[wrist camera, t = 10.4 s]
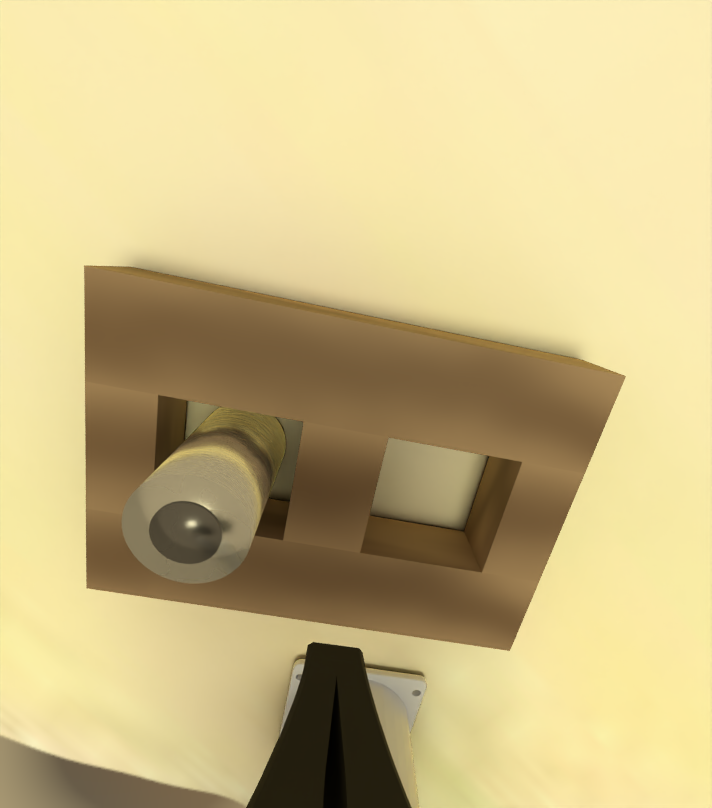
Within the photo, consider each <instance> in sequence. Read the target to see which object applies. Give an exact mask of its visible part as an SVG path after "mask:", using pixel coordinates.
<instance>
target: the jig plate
mask: <svg viewBox="0 0 712 808" xmlns="http://www.w3.org/2000/svg"><path fill="white" fill-rule="evenodd" d="M84 279H85V426H86V572H87V588H89V589H96V590H103V591H109V592H116V593H123V594H130V595H136V596H143V597H150V598H157V599H163V600H170V601H177V602H184V603H190V604H197V605H204V606H211V607H217V608H224V609H231V610H238V611H245V612H251V613H258V614H265V615H272V616H278V617H285V618H292V619H299V620H305V621H312V622H319V623H326V624H332V625H339V626H346V627H353V628H359V629H366V630H373V631H380V632H387V633H393V634H400V635H407V636H414V637H420V638H427V639H434V640H441V641H447V642H454V643H461V644H468V645H474V646H481V647H488V648H495V649H501V650H508V651H510V649H511V647H512V644H513V642H514V639H515V637H516V635H517V632H518V630H519V628H520V625H521V623H522V621H523V618H524V616H525V613H526V611H527V609H528V606H529V604H530V602H531V599H532V597H533V595H534V592H535V590H536V587H537V585H538V583H539V580H540V578H541V576H542V573H543V571H544V569H545V566H546V564H547V561H548V559H549V557H550V554H551V552H552V550H553V547H554V545H555V542H556V540H557V538H558V535H559V533H560V531H561V528H562V526H563V524H564V521H565V519H566V516H567V514H568V512H569V509H570V507H571V505H572V502H573V500H574V498H575V495H576V493H577V490H578V488H579V486H580V483H581V481H582V479H583V476H584V474H585V472H586V469H587V467H588V464H589V462H590V460H591V457H592V455H593V453H594V450H595V448H596V446H597V443H598V441H599V438H600V436H601V434H602V431H603V429H604V427H605V424H606V422H607V420H608V417H609V415H610V412H611V410H612V408H613V405H614V403H615V401H616V398H617V396H618V394H619V391H620V389H621V386H622V384H623V382H624V379H625V377H626V376H624V375H621V374H618V373H616V372H613V371H610V370H608V369H605V368H602V367H600V366H597V365H594V364H592V363H589V362H586V361H584V360H580V359H575V358H570V357H565V356H561V355H556V354H551V353H546V352H541V351H536V350H531V349H527V348H522V347H517V346H512V345H507V344H502V343H497V342H493V341H488V340H483V339H478V338H473V337H468V336H463V335H459V334H454V333H449V332H444V331H439V330H434V329H429V328H425V327H420V326H415V325H410V324H405V323H400V322H395V321H391V320H386V319H381V318H376V317H371V316H366V315H361V314H357V313H352V312H347V311H342V310H337V309H332V308H327V307H323V306H318V305H313V304H308V303H303V302H298V301H293V300H289V299H284V298H279V297H274V296H269V295H264V294H259V293H255V292H250V291H245V290H240V289H235V288H230V287H225V286H221V285H216V284H211V283H206V282H201V281H196V280H191V279H187V278H182V277H177V276H172V275H167V274H162V273H157V272H153V271H148V270H143V269H138V268H133V267H116V266H84ZM187 400H189V401H194V402H199V403H205V404H210V405H216V406H221V407H227V408H232V409H237V410H243V411H248V412H254V413H259V414H265V415H270V416H275V417H281V418H286V419H292V420H297V421H303V422H304V423H303V429H302V434H301V440H300V446H299V452H298V458H297V463H296V469H295V475H294V481H293V486H292V492H291V498H290V502H286V501H280V500H274V499H268V500H267V503H266V505H265V508H264V511H263V513H262V516H261V519H260V522H259V524H258V527H257V530H256V532H255V535H254V538H253V541H252V543H251V546H250V549H249V551H248V553H247V556H246V557H245V559H244V561H243V562H242V563H241V564H240V566H239V567H238V568H237V569H235V570H234V571H233V572H232V573H230V574H228V575H227V576H225V577H223V578H221V579H218V580H215V581H211V582H207V583H182V582H177V581H173V580H170V579H167V578H164V577H162V576H160V575H158V574H156V573H154V572H152V571H151V570H149V569H148V568H147V567H145V566H144V565H143V564H142V563H141V562H140V561H138V559H137V558H136V557H135V556H134V555H133V553H132V552H131V550H130V549H129V547H128V545H127V543H126V541H125V538H124V535H123V531H122V513H123V510H124V507H125V504H126V502H127V500H128V499H129V497H130V496H131V495H132V493H133V492H134V491H135V490H136V489H137V488H138V487H139V486H140V485H141V484H142V483H143V482H144V481H145V480H146V479H147V478H148V477H149V476H150V475H151V474H152V473H153V472H154V471H155V470H156V469H157V468H158V467H159V466H160V465H161V464H162V463H163V462H164V461H165V460H166V459H167V458H168V457H169V456H170V455H171V454H172V453H173V452H174V451H175V450H176V449H177V448H178V447H179V446H180V445H181V444H182V443H183V442H184V431H185V417H186V404H187ZM388 437H389V438H395V439H400V440H406V441H411V442H417V443H422V444H427V445H433V446H438V447H444V448H449V449H455V450H460V451H465V452H471V453H476V454H482V455H487V456H489V459H488V462H487V465H486V468H485V471H484V474H483V477H482V480H481V483H480V486H479V489H478V492H477V495H476V498H475V501H474V504H473V507H472V510H471V513H470V515H469V518H468V521H467V524H466V527H465V530H464V532H463V531H457V530H452V529H446V528H440V527H434V526H428V525H422V524H416V523H410V522H404V521H398V520H392V519H386V518H381V517H375V516H369V514H370V510H371V506H372V502H373V498H374V494H375V490H376V486H377V482H378V478H379V474H380V470H381V466H382V461H383V457H384V453H385V449H386V445H387V441H388Z"/></svg>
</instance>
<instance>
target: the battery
mask: <svg viewBox="0 0 712 808" xmlns="http://www.w3.org/2000/svg"><path fill="white" fill-rule="evenodd" d="M285 449H286V438H285V434H284V431H283V428H282V426H281V424H280V423H279V421H278V420H277V419H276V418H275V417H274V416H270V415H265V414H259V413H254V412H248V411H243V410H237V409H232V408H227V407H220V408H218V409H217V410H215V411H214V412H213V413H212V414H211V415H210V416H209V417H208V418H207V419H206V420H205V421H204V422H203V423H202V424H201V425H200V426H199V427H198V428H197V429H196V430H195V431H194V432H193V433H192V434H191V435H190V436H189V437H188V438H187V439H186V440H185V441H184V442H183V443H182V444H181V445H180V446H179V447H178V448H177V449H176V450H175V451H174V452H173V453H172V454H171V455H170V456H169V457H168V458H167V459H166V460H165V461H164V462H163V463H162V464H161V465H160V466H159V467H158V468H157V469H156V470H155V471H154V472H153V473H152V474H151V475H150V476H149V477H148V478H147V479H146V480H145V481H144V482H143V483H142V484H141V485H140V486H139V487H138V488H137V489H136V490H135V491H134V492H133V493H132V495H131V496H130V497H129V499H128V500H127V502H126V504H125V507H124V510H123V513H122V531H123V535H124V538H125V541H126V543H127V545H128V547H129V549H130V550H131V552H132V553H133V555H134V556H135V557H136V558H137V559H138V561H140V562H141V563H142V564H143V565H144V566H145V567H147V568H148V569H149V570H151V571H152V572H154V573H156V574H158V575H160V576H162V577H164V578H167V579H170V580H173V581H177V582H182V583H207V582H211V581H215V580H218V579H221V578H223V577H225V576H227V575H228V574H230V573H232V572H233V571H234V570H235V569H237V568H238V567H239V566H240V564H241V563H242V562H243V561H244V559H245V557H246V556H247V553H248V551H249V549H250V546H251V543H252V541H253V538H254V535H255V532H256V530H257V527H258V524H259V522H260V519H261V516H262V513H263V511H264V508H265V505H266V503H267V500H268V497H269V495H270V492H271V489H272V486H273V484H274V481H275V478H276V476H277V473H278V470H279V467H280V465H281V462H282V459H283V457H284V454H285Z"/></svg>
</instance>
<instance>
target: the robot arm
mask: <svg viewBox="0 0 712 808" xmlns="http://www.w3.org/2000/svg"><path fill="white" fill-rule="evenodd" d="M426 687H427V684H426V680H425V678H424V677H423V676H420V675H415V674H408V673H400V672H393V671H386V670H379V669H372V668H365V663H364V658H363V653H362V651H361V650H360V649H359V648H353V647H345V646H338V645H330V644H322V643H315V642H313V643H311V644H309V645H308V648H307V653H306V658H305V659H299V660H297V661H295V663H294V666H293V671H292V676H291V681H290V685H289V690H288V695H287V700H286V705H285V710H284V715H283V719H282V724H281V729H280V734H279V739H278V741H277V743H276V745H275V748H274V750H273V752H272V754H271V757H270V759H269V761H268V763H267V766H266V768H265V770H264V772H263V774H262V777H261V779H260V781H259V783H258V785H257V787H256V789H255V791H254V793H253V795H252V797H251V799H250V801H249V803H248V805H247V807H246V808H419V802H418V794H417V786H416V778H415V770H414V762H413V754H412V747H411V739H410V733H411V730H412V727H413V724H414V722H415V719H416V716H417V713H418V710H419V707H420V705H421V702H422V699H423V696H424V693H425V690H426Z"/></svg>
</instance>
